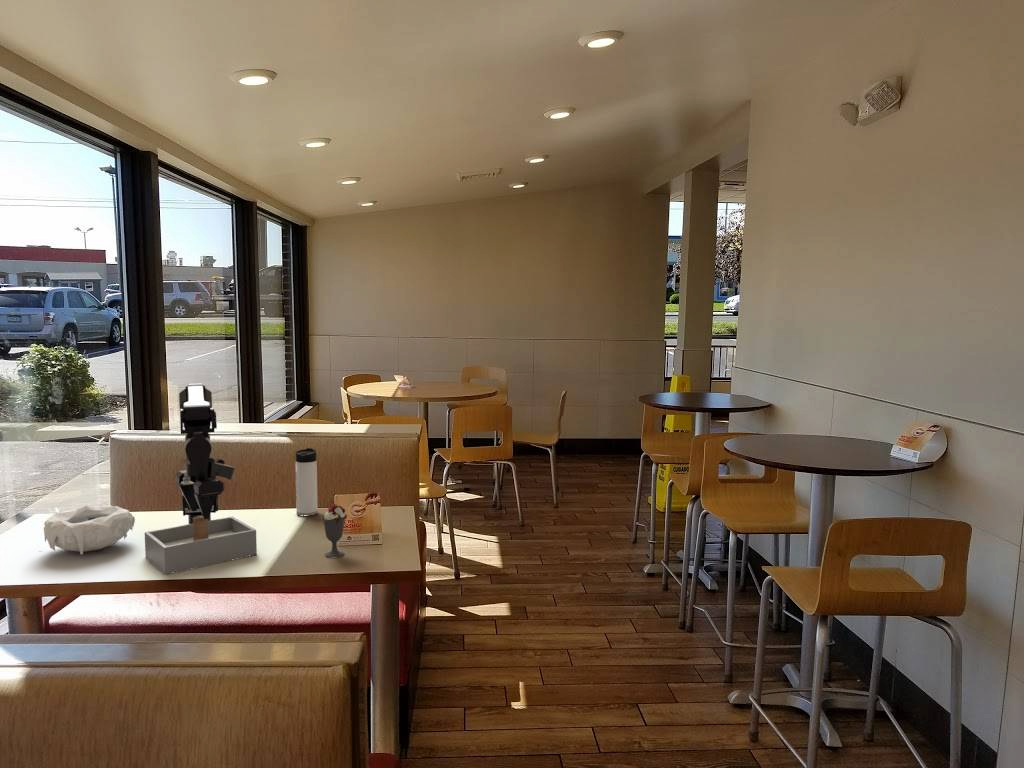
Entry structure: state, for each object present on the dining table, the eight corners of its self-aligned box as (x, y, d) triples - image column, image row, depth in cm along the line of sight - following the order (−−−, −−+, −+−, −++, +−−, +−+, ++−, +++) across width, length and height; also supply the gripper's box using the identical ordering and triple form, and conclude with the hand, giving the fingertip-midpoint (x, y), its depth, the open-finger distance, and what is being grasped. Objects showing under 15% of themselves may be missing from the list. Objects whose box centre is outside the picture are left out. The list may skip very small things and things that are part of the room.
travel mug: (321, 511, 225) (319, 448, 223) (313, 517, 218) (311, 452, 216) (301, 510, 225) (300, 447, 224) (293, 516, 219) (291, 451, 217)
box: (145, 557, 181) (144, 532, 181) (233, 539, 196) (232, 516, 195) (165, 574, 169) (164, 547, 169) (256, 554, 184) (256, 529, 183)
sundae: (324, 560, 180) (323, 502, 178) (318, 552, 186) (317, 496, 184) (350, 557, 183) (350, 499, 181) (344, 549, 189) (343, 493, 187)
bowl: (33, 549, 187) (31, 511, 186) (118, 532, 202) (116, 497, 201) (57, 568, 173) (55, 528, 172) (147, 549, 188) (145, 511, 187)
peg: (192, 555, 183) (190, 517, 182) (206, 552, 185) (205, 514, 184) (196, 559, 180) (195, 520, 179) (211, 556, 182) (209, 517, 182)
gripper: (244, 455, 178) (246, 516, 180) (217, 445, 192) (219, 502, 194) (198, 461, 171) (200, 525, 172) (173, 450, 185) (175, 509, 186)
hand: (200, 514), depth 181 cm, fingers open, 9 cm apart
